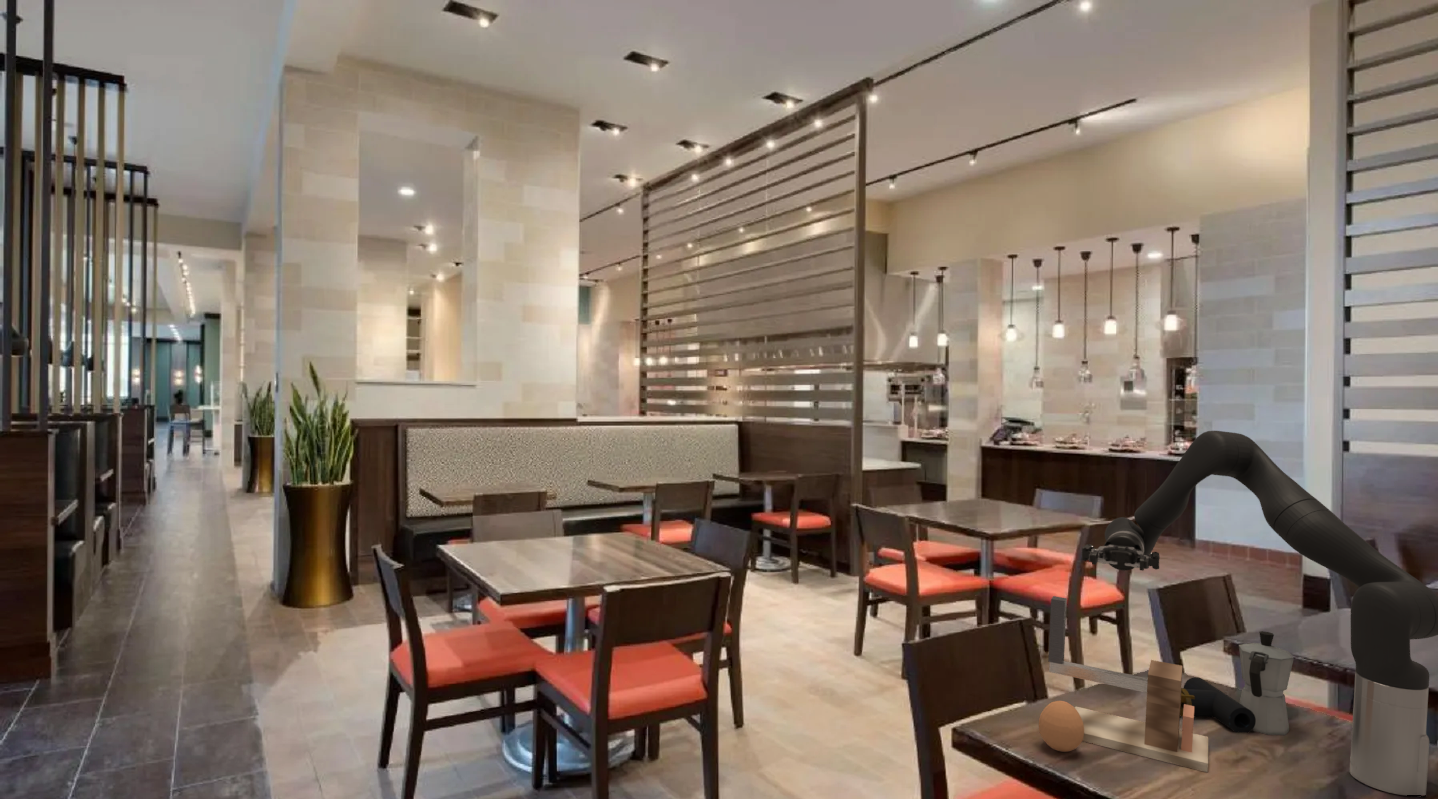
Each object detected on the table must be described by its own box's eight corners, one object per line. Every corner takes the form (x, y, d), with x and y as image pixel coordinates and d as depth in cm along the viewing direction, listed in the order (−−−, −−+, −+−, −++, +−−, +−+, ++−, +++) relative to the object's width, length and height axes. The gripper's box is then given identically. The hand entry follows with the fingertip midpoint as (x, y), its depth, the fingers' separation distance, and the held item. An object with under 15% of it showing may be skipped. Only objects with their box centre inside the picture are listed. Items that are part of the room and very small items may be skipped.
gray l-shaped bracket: (1164, 692, 141) (1168, 614, 141) (1163, 696, 139) (1167, 618, 139) (1050, 668, 152) (1053, 596, 151) (1047, 672, 150) (1051, 598, 149)
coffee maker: (1243, 708, 159) (1248, 620, 158) (1296, 723, 153) (1301, 631, 152) (1222, 730, 149) (1227, 635, 148) (1278, 747, 142) (1284, 648, 142)
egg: (1079, 764, 133) (1082, 714, 133) (1033, 751, 137) (1036, 703, 137) (1086, 747, 140) (1088, 700, 139) (1041, 736, 144) (1043, 690, 143)
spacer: (1192, 739, 141) (1194, 706, 141) (1191, 752, 136) (1193, 718, 135) (1182, 737, 142) (1183, 704, 141) (1181, 749, 137) (1182, 715, 136)
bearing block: (1207, 745, 142) (1211, 668, 142) (1207, 772, 132) (1211, 690, 131) (1075, 713, 154) (1078, 643, 153) (1065, 736, 144) (1069, 661, 143)
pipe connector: (1194, 703, 148) (1152, 673, 163) (1192, 731, 148) (1150, 699, 163) (1256, 707, 148) (1208, 677, 163) (1254, 735, 148) (1206, 702, 163)
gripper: (1088, 528, 175) (1079, 539, 161) (1162, 536, 168) (1159, 548, 154) (1087, 562, 175) (1078, 576, 161) (1160, 571, 168) (1157, 586, 154)
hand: (1117, 562), depth 157 cm, fingers open, 8 cm apart
